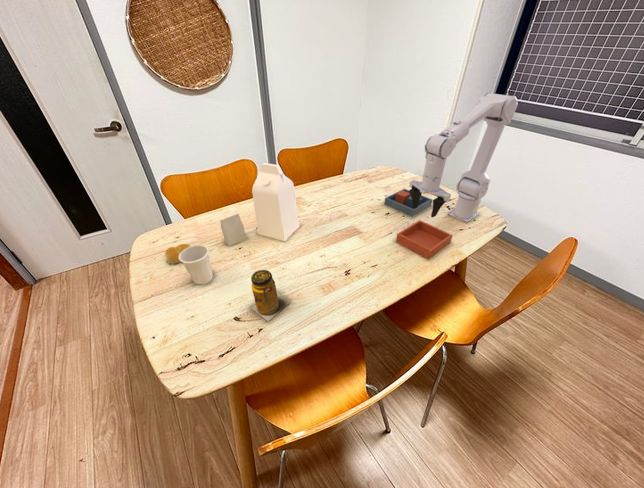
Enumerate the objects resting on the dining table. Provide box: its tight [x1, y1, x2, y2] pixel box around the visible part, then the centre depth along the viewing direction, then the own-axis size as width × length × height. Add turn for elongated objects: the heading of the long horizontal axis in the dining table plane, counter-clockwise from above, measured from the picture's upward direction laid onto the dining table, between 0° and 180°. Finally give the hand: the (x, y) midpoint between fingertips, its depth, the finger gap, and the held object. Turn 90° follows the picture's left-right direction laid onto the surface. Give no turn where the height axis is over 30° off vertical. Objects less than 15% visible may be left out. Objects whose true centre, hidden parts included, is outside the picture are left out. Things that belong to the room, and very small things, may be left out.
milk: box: [251, 162, 301, 242], centre depth 100 cm, size 12×12×26 cm
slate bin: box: [383, 188, 433, 218], centre depth 120 cm, size 14×15×4 cm
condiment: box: [250, 269, 291, 322], centre depth 74 cm, size 7×8×12 cm
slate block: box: [406, 197, 423, 209], centre depth 117 cm, size 4×4×4 cm
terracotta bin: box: [395, 219, 454, 260], centre depth 99 cm, size 14×14×4 cm
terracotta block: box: [395, 189, 410, 205], centre depth 121 cm, size 4×4×4 cm
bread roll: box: [164, 243, 192, 264], centre depth 95 cm, size 8×9×4 cm
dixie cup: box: [179, 244, 214, 285], centre depth 84 cm, size 8×8×10 cm
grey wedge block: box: [220, 213, 247, 247], centre depth 100 cm, size 4×7×10 cm, turn 131°
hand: (424, 211), depth 97 cm, fingers open, 7 cm apart
